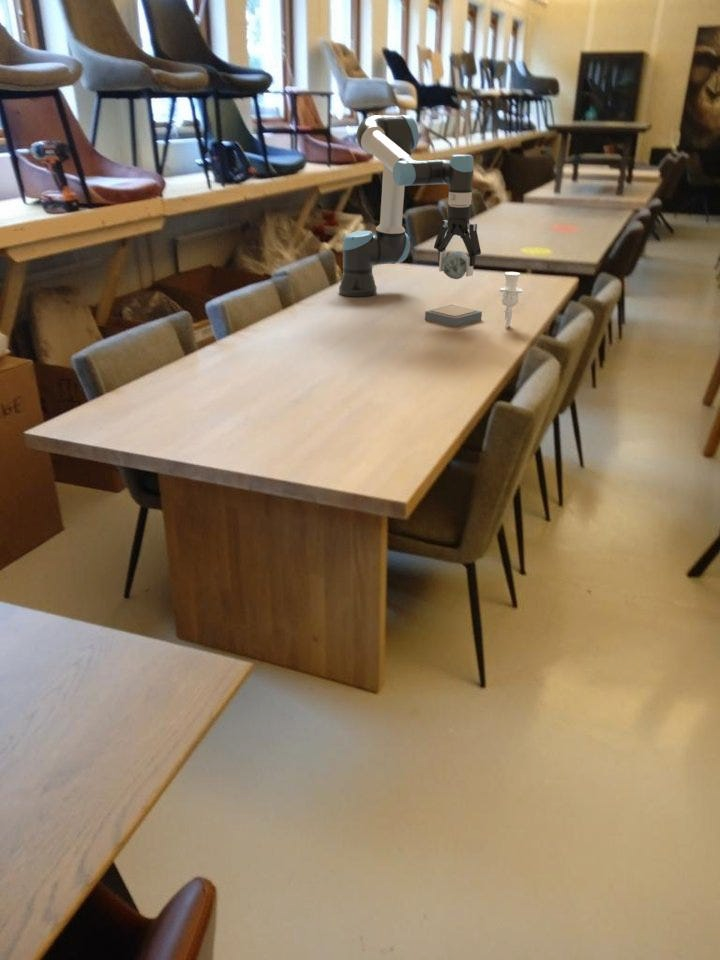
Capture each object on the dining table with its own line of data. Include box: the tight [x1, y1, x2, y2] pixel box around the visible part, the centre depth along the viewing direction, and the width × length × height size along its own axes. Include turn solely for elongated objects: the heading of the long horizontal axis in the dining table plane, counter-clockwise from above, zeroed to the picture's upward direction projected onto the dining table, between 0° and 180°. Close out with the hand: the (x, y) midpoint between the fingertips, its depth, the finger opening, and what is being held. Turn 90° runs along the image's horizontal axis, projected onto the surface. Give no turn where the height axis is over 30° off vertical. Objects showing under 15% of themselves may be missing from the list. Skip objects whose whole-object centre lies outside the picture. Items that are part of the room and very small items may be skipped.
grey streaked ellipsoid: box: [442, 250, 468, 280], centre depth 254 cm, size 14×10×10 cm
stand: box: [424, 304, 483, 328], centre depth 262 cm, size 14×14×3 cm
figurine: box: [498, 271, 523, 328], centre depth 250 cm, size 10×8×18 cm
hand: (455, 273), depth 256 cm, fingers closed on grey streaked ellipsoid, 11 cm apart
